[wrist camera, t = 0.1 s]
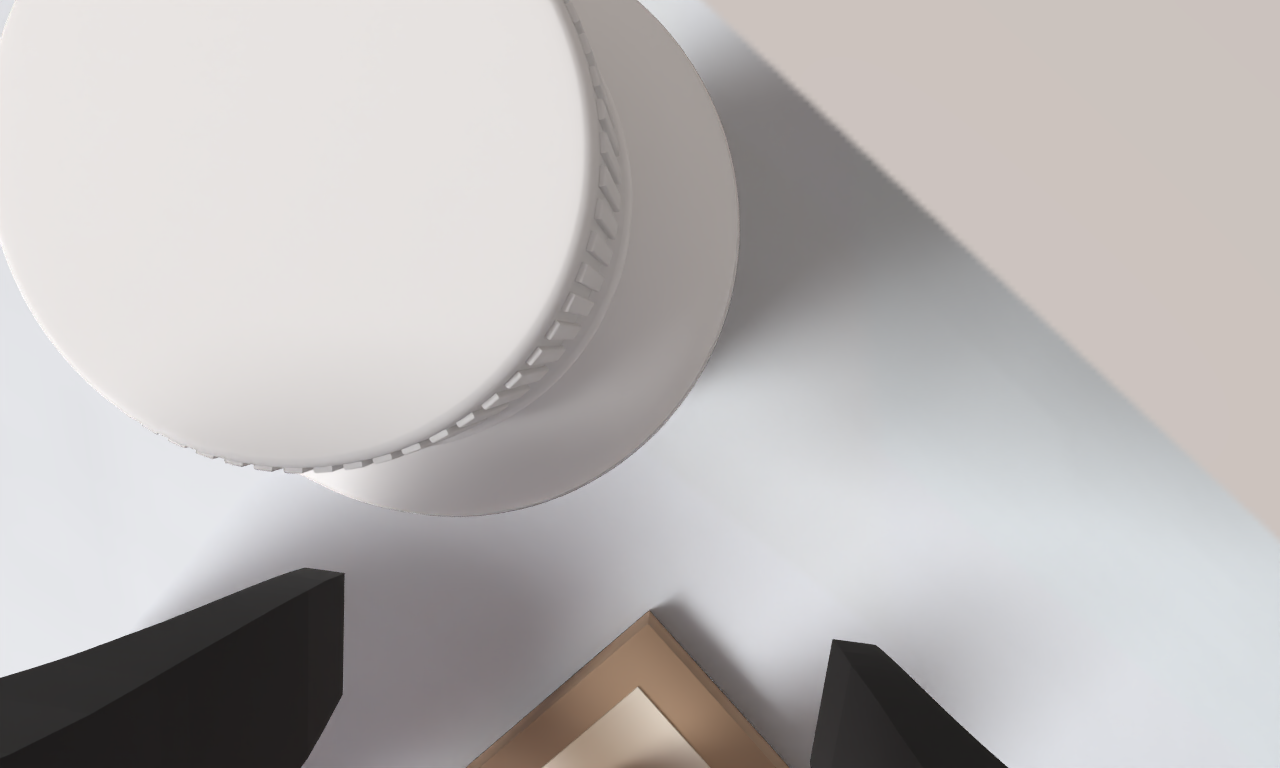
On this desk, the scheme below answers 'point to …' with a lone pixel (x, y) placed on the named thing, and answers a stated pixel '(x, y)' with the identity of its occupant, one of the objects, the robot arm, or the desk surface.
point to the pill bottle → (372, 232)
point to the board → (634, 715)
